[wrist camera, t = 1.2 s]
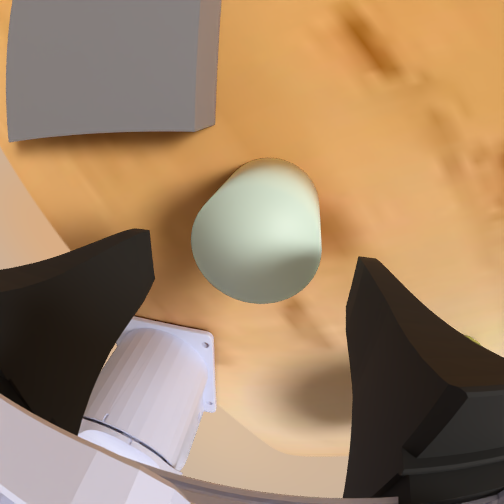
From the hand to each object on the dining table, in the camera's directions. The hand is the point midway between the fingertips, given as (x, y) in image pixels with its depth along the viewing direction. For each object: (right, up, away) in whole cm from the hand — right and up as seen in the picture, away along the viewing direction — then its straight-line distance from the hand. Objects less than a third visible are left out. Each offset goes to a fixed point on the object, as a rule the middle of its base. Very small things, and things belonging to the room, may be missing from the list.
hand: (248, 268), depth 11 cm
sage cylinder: (+1, +3, +6) cm, 7 cm away
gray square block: (-7, +13, +2) cm, 15 cm away
